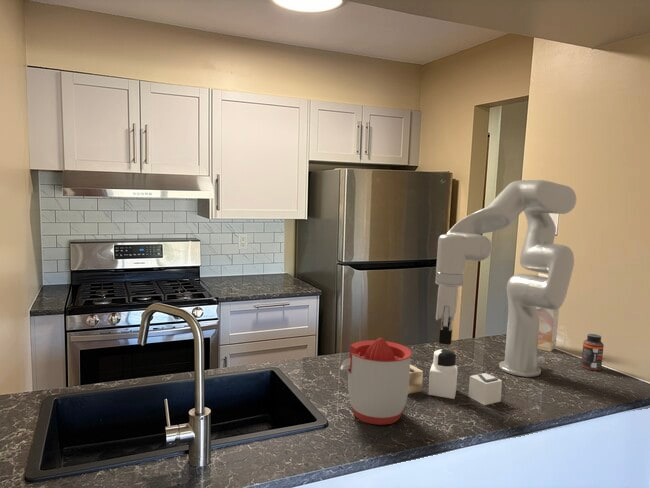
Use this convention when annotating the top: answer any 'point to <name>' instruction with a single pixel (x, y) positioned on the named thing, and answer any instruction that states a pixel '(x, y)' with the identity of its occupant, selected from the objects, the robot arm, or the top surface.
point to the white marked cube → (485, 388)
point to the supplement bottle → (592, 352)
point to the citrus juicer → (378, 380)
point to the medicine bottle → (443, 374)
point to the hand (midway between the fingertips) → (445, 343)
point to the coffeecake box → (547, 328)
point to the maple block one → (415, 380)
